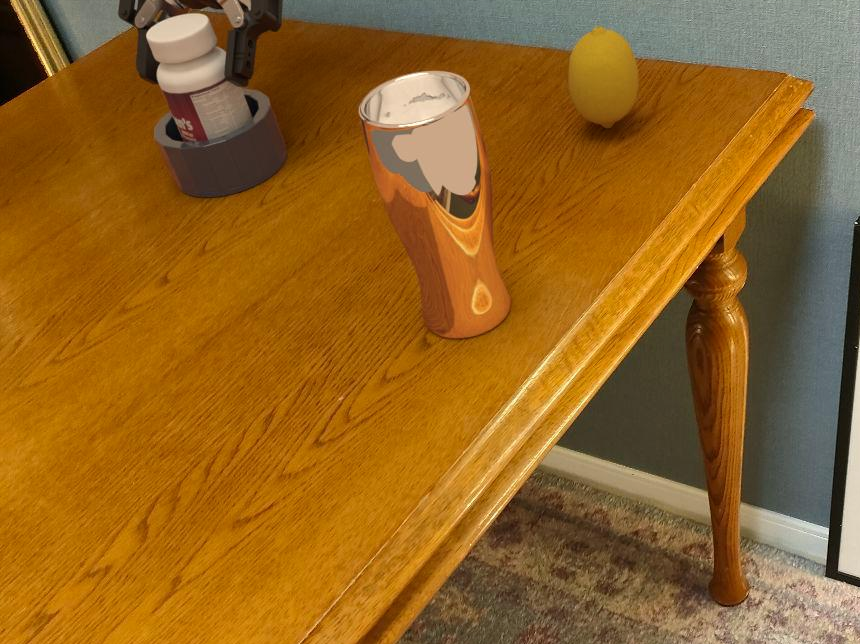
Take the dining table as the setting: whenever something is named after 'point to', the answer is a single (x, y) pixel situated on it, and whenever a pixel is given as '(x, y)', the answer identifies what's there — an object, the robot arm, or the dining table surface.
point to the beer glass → (438, 196)
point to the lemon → (603, 77)
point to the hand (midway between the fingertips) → (192, 82)
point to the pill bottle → (196, 78)
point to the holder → (225, 153)
